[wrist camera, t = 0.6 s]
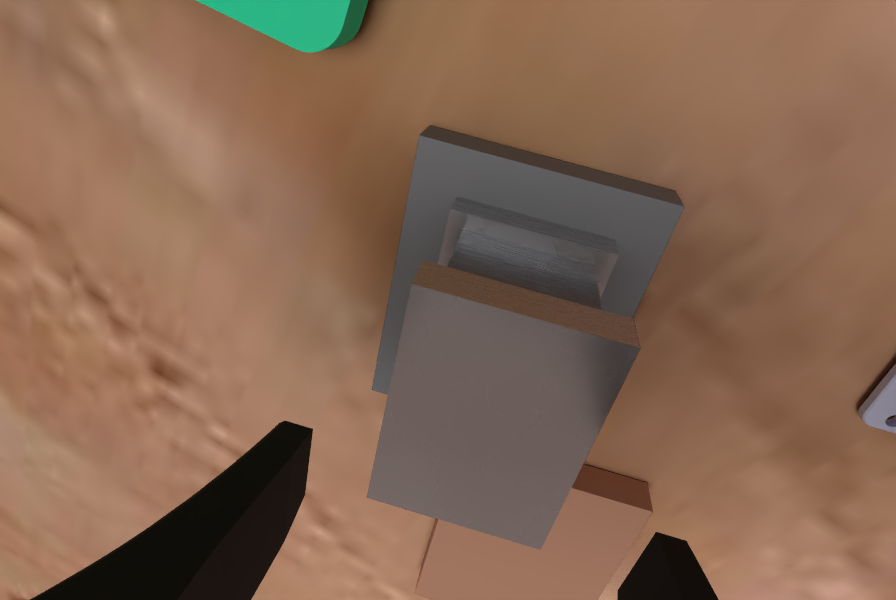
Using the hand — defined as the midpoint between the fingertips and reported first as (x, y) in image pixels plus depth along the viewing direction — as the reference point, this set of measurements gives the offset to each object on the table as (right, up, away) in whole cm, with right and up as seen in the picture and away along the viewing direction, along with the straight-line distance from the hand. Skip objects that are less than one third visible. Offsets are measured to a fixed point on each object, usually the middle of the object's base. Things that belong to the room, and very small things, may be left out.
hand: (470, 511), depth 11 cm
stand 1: (+2, +5, +9) cm, 10 cm away
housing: (+2, +4, +7) cm, 8 cm away
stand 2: (+3, -6, +14) cm, 16 cm away
